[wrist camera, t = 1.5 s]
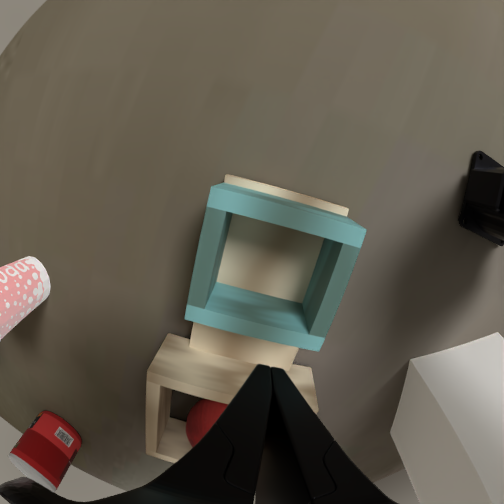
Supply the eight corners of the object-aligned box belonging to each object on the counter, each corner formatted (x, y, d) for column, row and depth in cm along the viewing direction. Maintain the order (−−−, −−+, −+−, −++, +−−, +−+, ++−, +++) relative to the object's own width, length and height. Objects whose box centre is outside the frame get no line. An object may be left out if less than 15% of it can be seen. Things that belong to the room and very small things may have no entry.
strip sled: (370, 215, 18) (401, 231, 14) (269, 445, 26) (268, 481, 21) (198, 167, 18) (175, 168, 13) (159, 419, 25) (146, 453, 21)
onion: (237, 424, 25) (228, 488, 17) (185, 400, 25) (164, 465, 17) (269, 393, 24) (268, 465, 16) (213, 365, 23) (193, 437, 15)
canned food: (36, 401, 28) (0, 447, 18) (79, 426, 28) (46, 480, 18) (46, 428, 30) (17, 471, 20) (86, 450, 31) (60, 499, 20)
